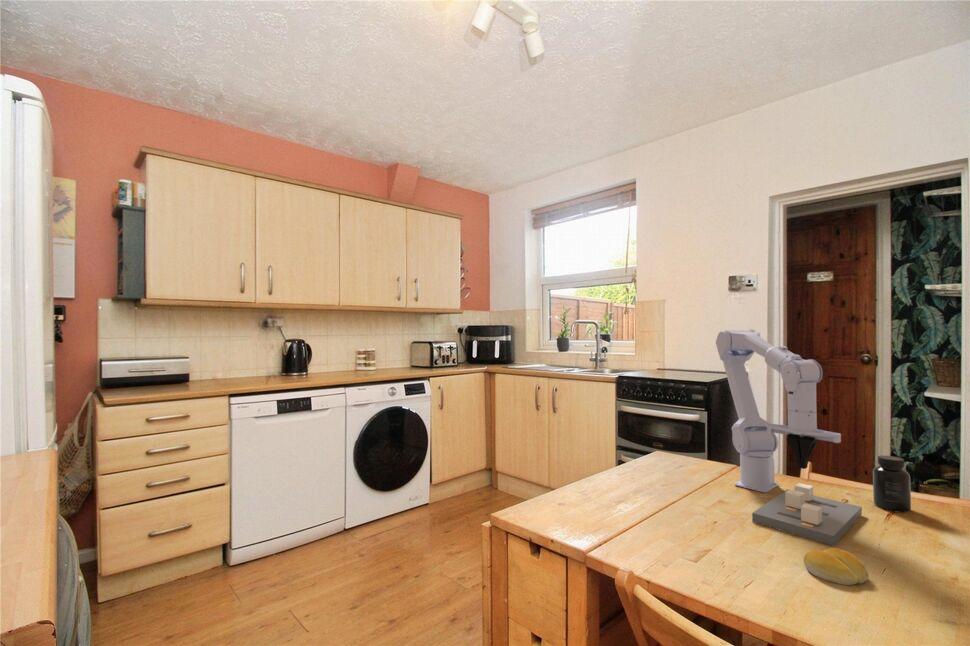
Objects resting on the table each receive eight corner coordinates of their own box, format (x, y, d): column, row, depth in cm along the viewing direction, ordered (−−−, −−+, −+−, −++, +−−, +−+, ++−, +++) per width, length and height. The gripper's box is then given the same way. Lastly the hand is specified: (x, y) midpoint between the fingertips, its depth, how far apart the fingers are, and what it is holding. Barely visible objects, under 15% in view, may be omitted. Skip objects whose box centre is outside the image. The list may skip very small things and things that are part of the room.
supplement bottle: (917, 510, 108) (916, 460, 108) (900, 515, 106) (899, 463, 106) (883, 500, 115) (882, 452, 115) (866, 504, 112) (866, 455, 112)
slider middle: (789, 502, 108) (789, 489, 108) (804, 505, 106) (804, 493, 106) (785, 505, 106) (785, 492, 106) (800, 509, 104) (800, 496, 104)
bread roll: (793, 564, 84) (793, 542, 84) (836, 561, 86) (836, 539, 86) (833, 589, 76) (832, 565, 76) (879, 585, 77) (879, 562, 77)
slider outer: (805, 516, 100) (805, 503, 100) (822, 521, 97) (821, 507, 97) (801, 520, 98) (801, 506, 98) (817, 525, 95) (817, 510, 96)
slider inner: (799, 495, 113) (798, 482, 113) (813, 498, 110) (813, 486, 110) (794, 497, 111) (794, 485, 111) (809, 501, 108) (809, 488, 108)
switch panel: (787, 497, 117) (787, 489, 117) (861, 515, 106) (861, 506, 106) (752, 521, 102) (752, 512, 103) (833, 545, 91) (833, 535, 91)
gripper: (761, 408, 111) (762, 463, 111) (834, 417, 100) (835, 478, 100) (772, 405, 116) (773, 458, 116) (843, 413, 105) (843, 472, 105)
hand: (802, 467), depth 108 cm, fingers closed
